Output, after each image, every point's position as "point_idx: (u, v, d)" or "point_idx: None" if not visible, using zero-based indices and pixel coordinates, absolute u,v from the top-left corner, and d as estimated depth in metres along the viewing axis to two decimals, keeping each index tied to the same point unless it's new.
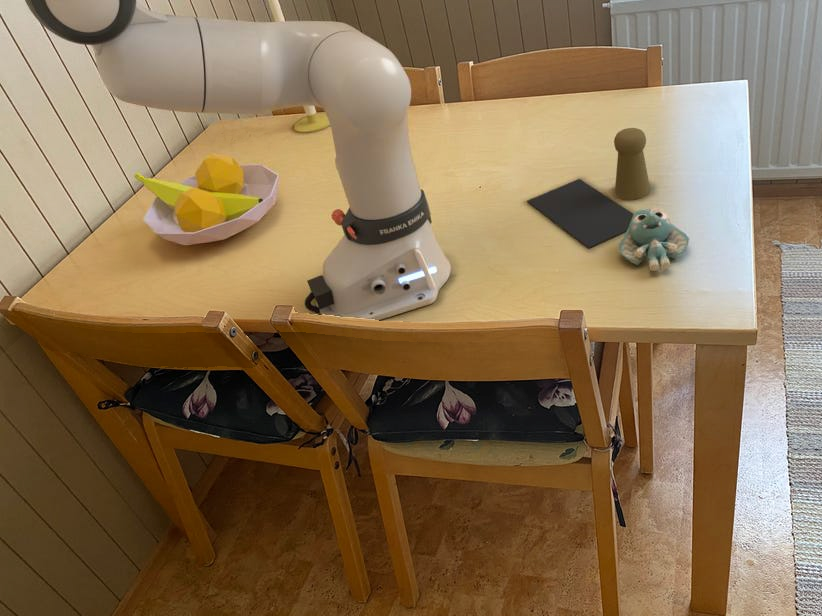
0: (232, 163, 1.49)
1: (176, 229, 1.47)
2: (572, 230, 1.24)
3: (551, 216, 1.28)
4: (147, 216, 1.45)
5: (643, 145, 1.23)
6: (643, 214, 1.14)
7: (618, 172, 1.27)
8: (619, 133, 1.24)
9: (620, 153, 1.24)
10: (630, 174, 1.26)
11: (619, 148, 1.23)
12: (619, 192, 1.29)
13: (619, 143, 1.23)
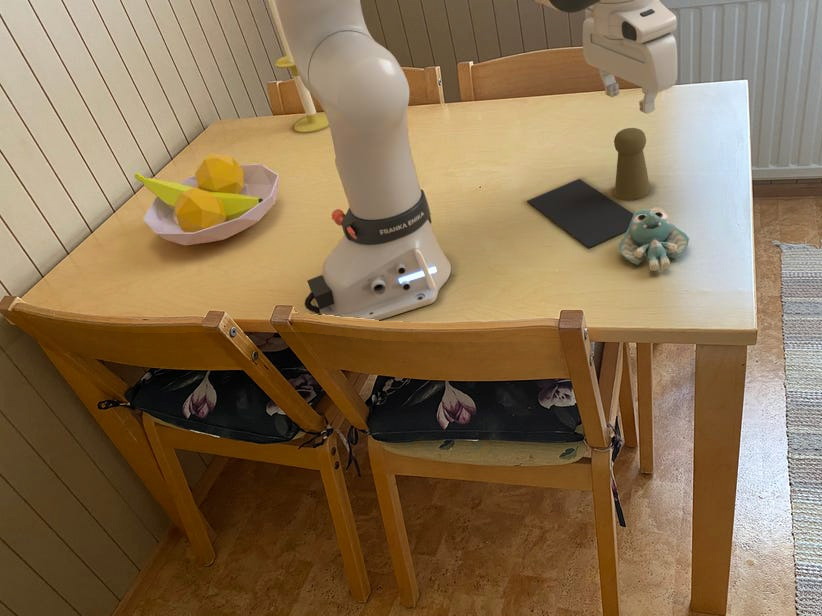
0: (232, 163, 1.49)
1: (176, 229, 1.47)
2: (572, 230, 1.24)
3: (551, 216, 1.28)
4: (147, 216, 1.45)
5: (643, 145, 1.23)
6: (643, 214, 1.14)
7: (618, 172, 1.27)
8: (619, 133, 1.24)
9: (620, 153, 1.24)
10: (630, 174, 1.26)
11: (619, 148, 1.23)
12: (619, 192, 1.29)
13: (619, 143, 1.23)
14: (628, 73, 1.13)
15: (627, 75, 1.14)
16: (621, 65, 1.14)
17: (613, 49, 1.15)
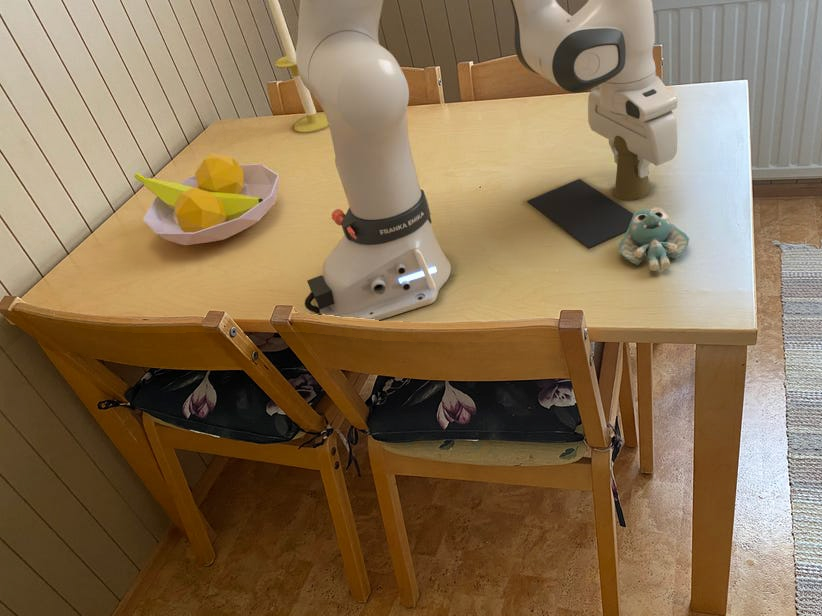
0: (232, 163, 1.49)
1: (176, 229, 1.47)
2: (572, 230, 1.24)
3: (551, 216, 1.28)
4: (147, 216, 1.45)
5: None
6: (643, 214, 1.14)
7: (618, 172, 1.27)
8: None
9: (620, 153, 1.24)
10: (630, 174, 1.26)
11: (619, 147, 1.23)
12: (619, 192, 1.29)
13: (619, 143, 1.23)
14: (631, 144, 1.21)
15: (630, 146, 1.21)
16: (625, 137, 1.22)
17: (617, 121, 1.22)
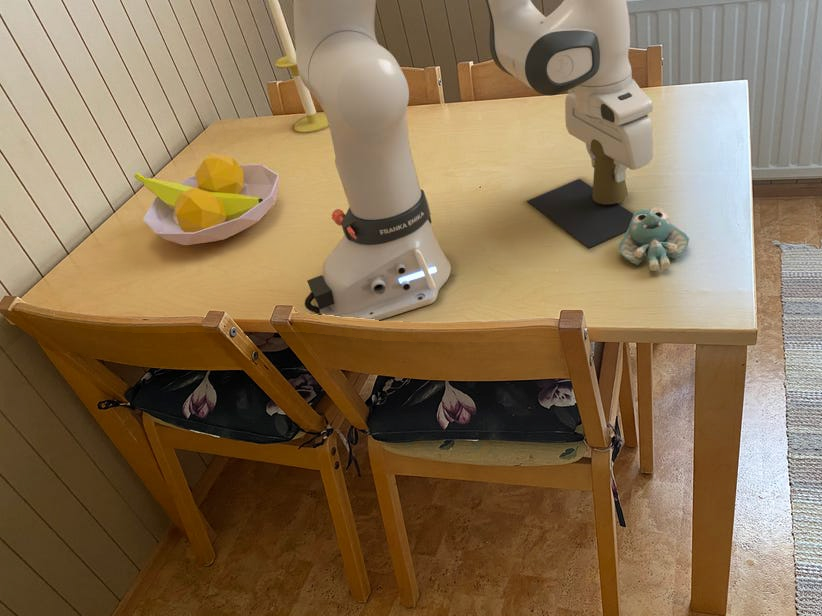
0: (232, 163, 1.49)
1: (176, 229, 1.47)
2: (572, 230, 1.24)
3: (551, 216, 1.28)
4: (147, 216, 1.45)
5: None
6: (643, 214, 1.14)
7: (595, 176, 1.25)
8: None
9: (597, 157, 1.23)
10: (607, 178, 1.24)
11: (595, 151, 1.22)
12: (596, 196, 1.27)
13: (595, 147, 1.21)
14: (607, 148, 1.19)
15: (606, 150, 1.20)
16: (601, 141, 1.20)
17: (593, 125, 1.21)
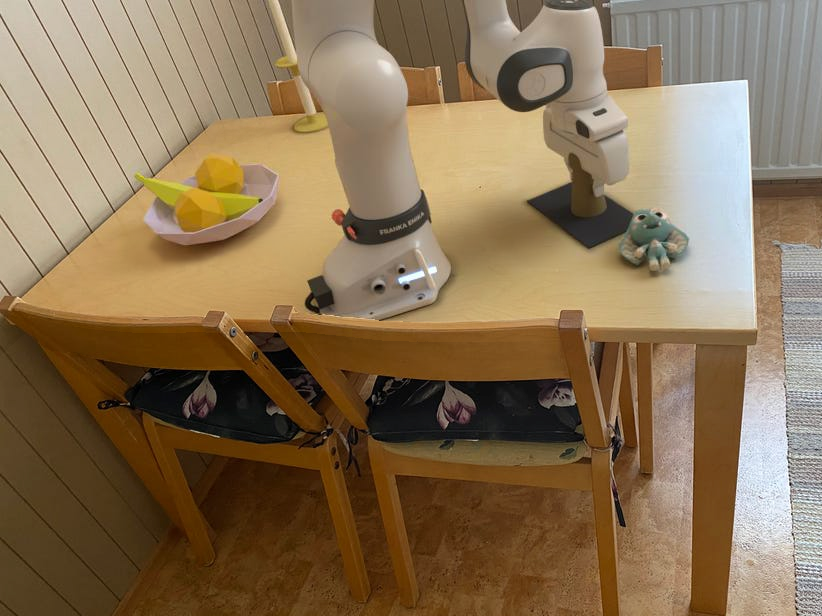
0: (232, 163, 1.49)
1: (176, 229, 1.47)
2: (572, 230, 1.24)
3: (551, 216, 1.28)
4: (147, 216, 1.45)
5: None
6: (643, 214, 1.14)
7: (573, 189, 1.25)
8: None
9: (574, 170, 1.22)
10: (585, 192, 1.23)
11: (572, 165, 1.21)
12: (575, 209, 1.26)
13: (572, 160, 1.20)
14: (584, 163, 1.19)
15: (583, 165, 1.19)
16: (578, 156, 1.20)
17: (570, 140, 1.20)
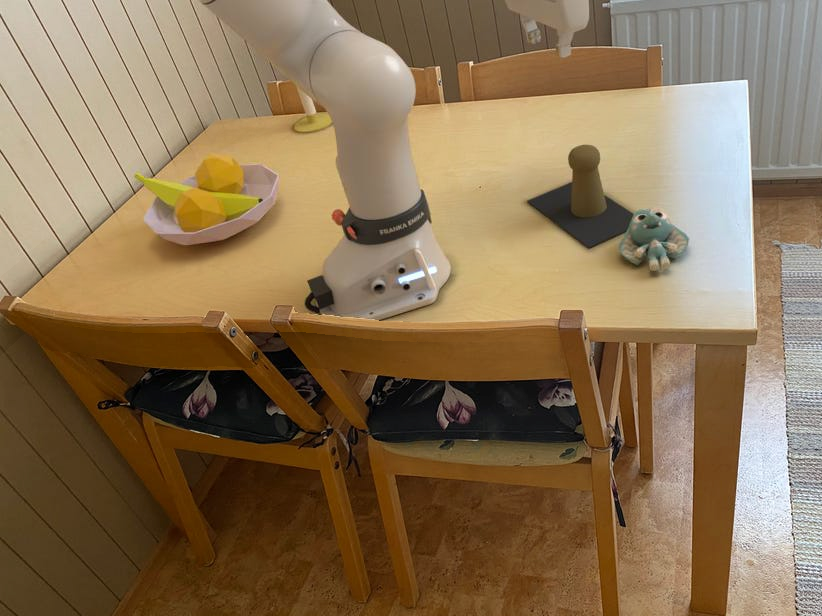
0: (232, 163, 1.49)
1: (176, 229, 1.47)
2: (572, 230, 1.24)
3: (551, 216, 1.28)
4: (147, 216, 1.45)
5: (597, 162, 1.21)
6: (643, 214, 1.14)
7: (573, 189, 1.25)
8: (573, 150, 1.21)
9: (574, 170, 1.22)
10: (585, 192, 1.23)
11: (572, 165, 1.21)
12: (575, 209, 1.26)
13: (572, 160, 1.20)
14: (543, 15, 1.12)
15: (542, 17, 1.12)
16: (537, 7, 1.13)
17: None
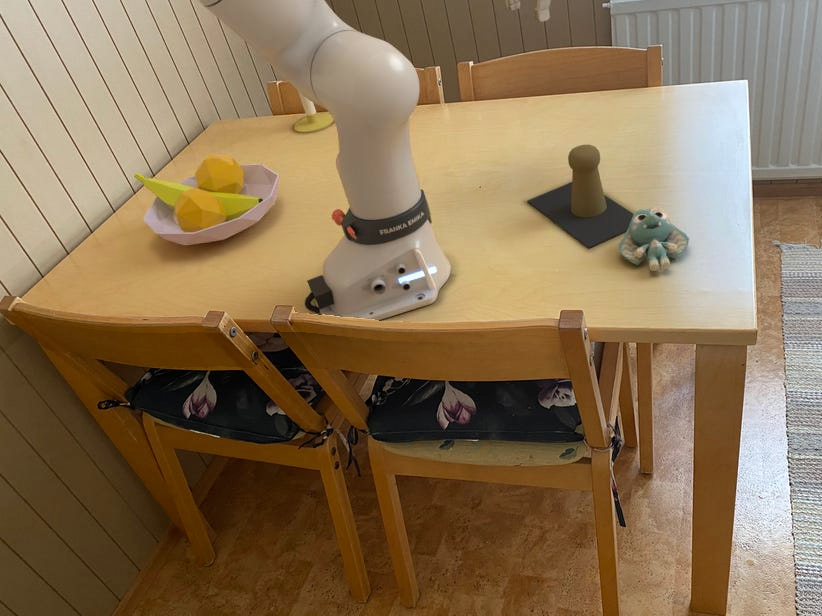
0: (232, 163, 1.49)
1: (176, 229, 1.47)
2: (572, 230, 1.24)
3: (551, 216, 1.28)
4: (147, 216, 1.45)
5: (597, 162, 1.21)
6: (643, 214, 1.14)
7: (573, 189, 1.25)
8: (573, 150, 1.21)
9: (574, 170, 1.22)
10: (585, 192, 1.23)
11: (572, 165, 1.21)
12: (575, 209, 1.26)
13: (572, 160, 1.20)
14: None
15: None
16: None
17: None
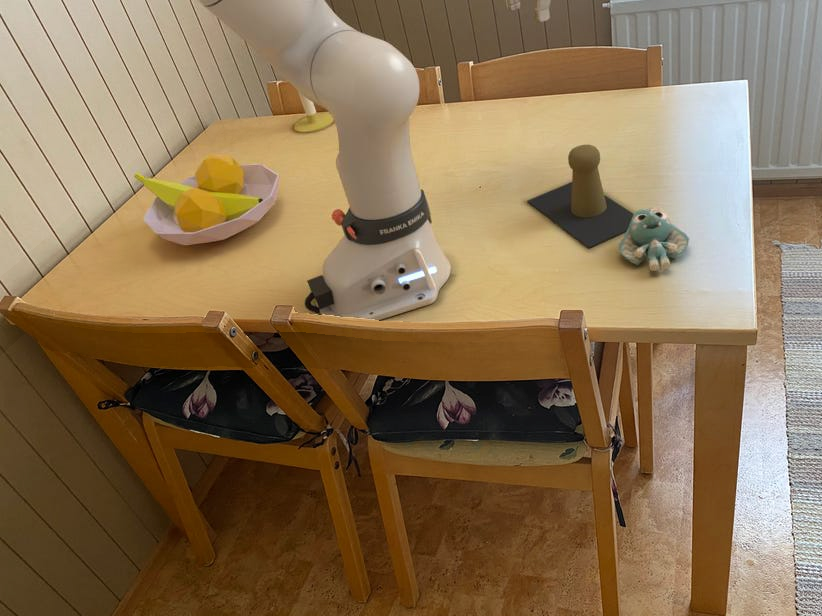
0: (232, 163, 1.49)
1: (176, 229, 1.47)
2: (572, 230, 1.24)
3: (551, 216, 1.28)
4: (147, 216, 1.45)
5: (597, 162, 1.21)
6: (643, 214, 1.14)
7: (573, 189, 1.25)
8: (573, 150, 1.21)
9: (574, 170, 1.22)
10: (585, 192, 1.23)
11: (572, 165, 1.21)
12: (575, 209, 1.26)
13: (572, 160, 1.20)
14: None
15: None
16: None
17: None
